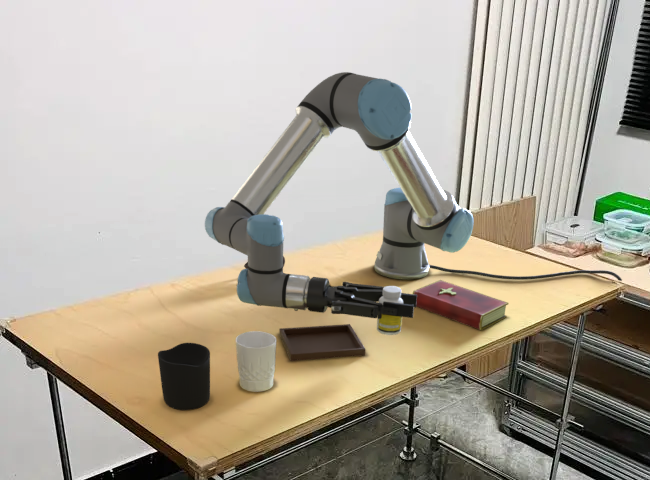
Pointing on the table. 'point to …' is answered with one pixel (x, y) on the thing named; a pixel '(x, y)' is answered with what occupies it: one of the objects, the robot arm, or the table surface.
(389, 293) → the supplement bottle
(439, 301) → the hardcover book
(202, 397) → the pen holder
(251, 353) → the white cup
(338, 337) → the tray
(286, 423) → the table surface
